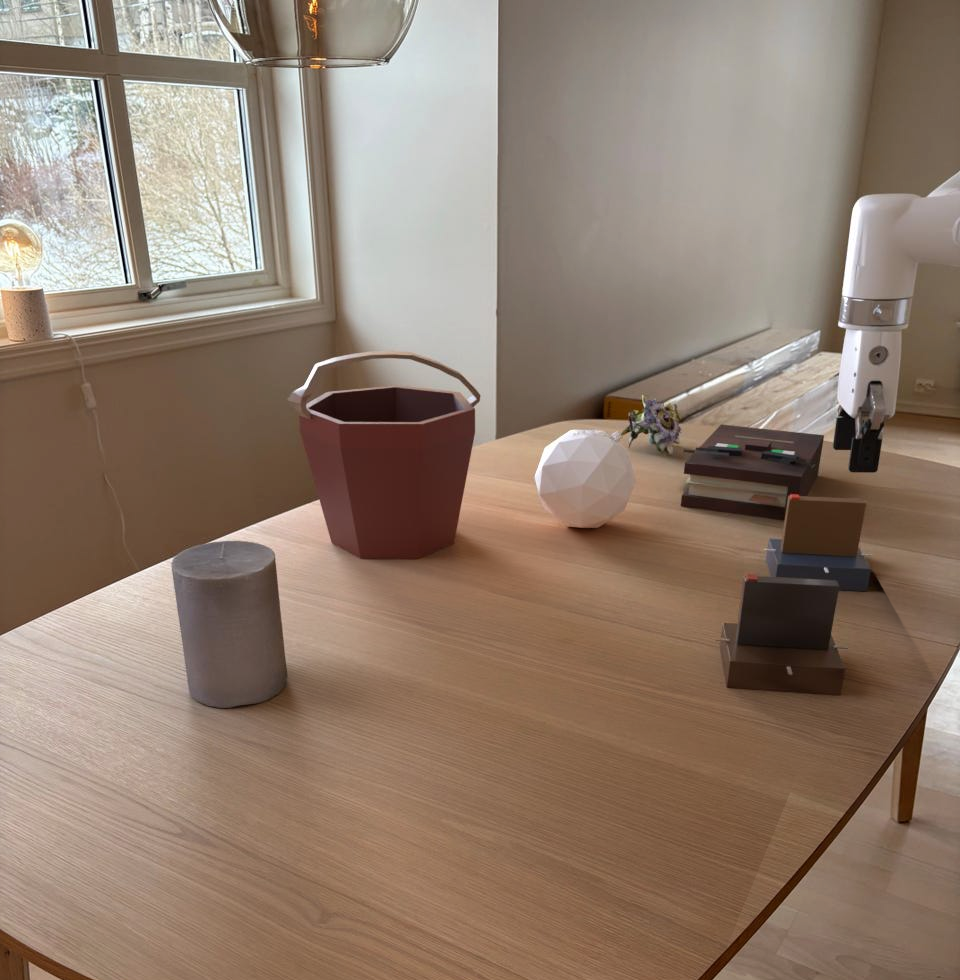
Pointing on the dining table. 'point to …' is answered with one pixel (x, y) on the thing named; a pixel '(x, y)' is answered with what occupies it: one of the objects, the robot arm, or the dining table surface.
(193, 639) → the pillar candle
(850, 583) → the stand far
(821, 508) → the frame far
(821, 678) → the stand near
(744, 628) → the frame near
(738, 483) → the decorative book
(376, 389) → the bucket
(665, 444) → the passion flower
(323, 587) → the dining table surface
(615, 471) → the geodesic sphere
